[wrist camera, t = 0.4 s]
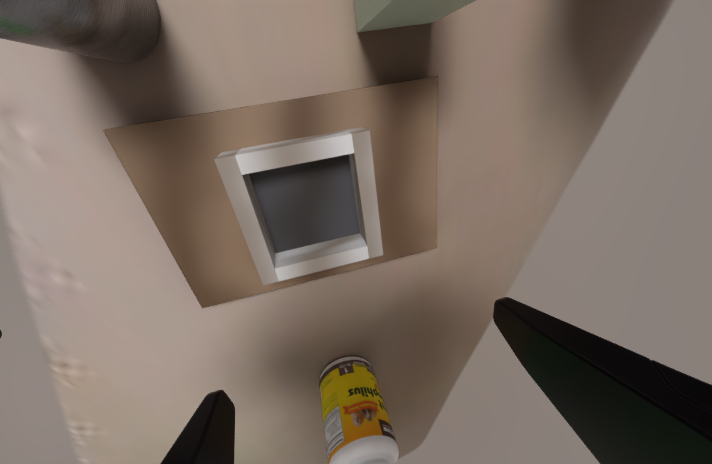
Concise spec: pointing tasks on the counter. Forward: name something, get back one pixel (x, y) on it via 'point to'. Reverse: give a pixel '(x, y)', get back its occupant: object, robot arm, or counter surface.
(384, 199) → the bore board
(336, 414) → the supplement bottle
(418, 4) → the square peg
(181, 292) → the counter surface
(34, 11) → the round peg
